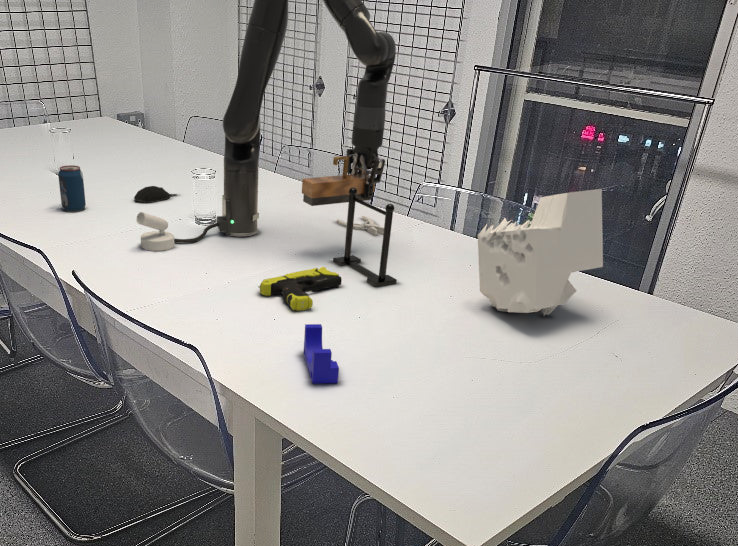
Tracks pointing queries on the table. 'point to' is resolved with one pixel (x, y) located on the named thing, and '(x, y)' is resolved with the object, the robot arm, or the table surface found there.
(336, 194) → the scrub brush
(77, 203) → the soda can
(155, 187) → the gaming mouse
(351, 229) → the black hurdle stand
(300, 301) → the stun gun
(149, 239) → the white spotlight lamp
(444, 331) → the table surface
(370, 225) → the pliers
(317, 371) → the blue stepped block
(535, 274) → the jagged cream rock lump
